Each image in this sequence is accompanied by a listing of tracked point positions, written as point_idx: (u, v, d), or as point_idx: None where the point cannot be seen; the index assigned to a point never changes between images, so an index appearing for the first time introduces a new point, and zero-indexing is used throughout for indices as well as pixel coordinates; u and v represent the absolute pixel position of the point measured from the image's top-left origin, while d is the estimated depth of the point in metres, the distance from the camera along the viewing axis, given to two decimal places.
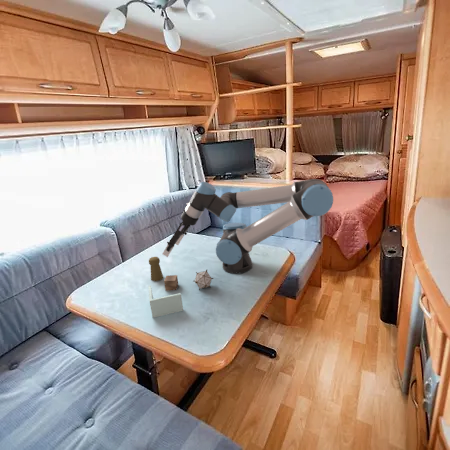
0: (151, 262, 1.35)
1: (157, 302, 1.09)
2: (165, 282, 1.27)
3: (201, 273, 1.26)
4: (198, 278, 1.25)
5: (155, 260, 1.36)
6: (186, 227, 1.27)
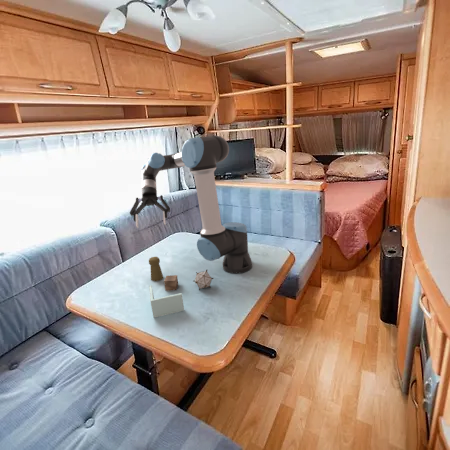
0: (151, 262, 1.35)
1: (158, 302, 1.09)
2: (165, 282, 1.27)
3: (201, 273, 1.26)
4: (198, 278, 1.25)
5: (155, 260, 1.36)
6: None
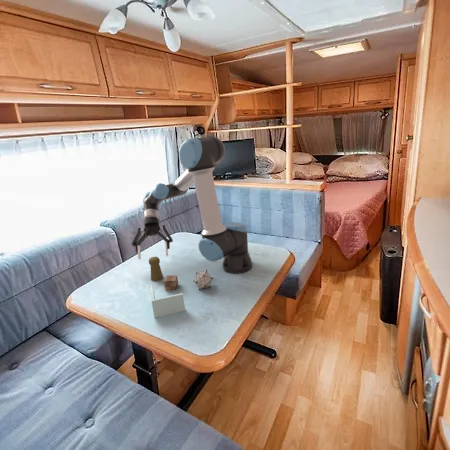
0: (151, 262, 1.35)
1: (159, 302, 1.09)
2: (165, 282, 1.27)
3: (201, 273, 1.26)
4: (198, 278, 1.25)
5: (155, 260, 1.36)
6: (147, 229, 1.48)
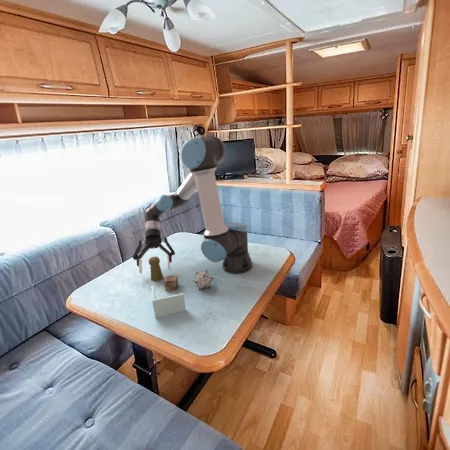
0: (151, 262, 1.35)
1: (160, 302, 1.09)
2: (165, 282, 1.27)
3: (201, 273, 1.26)
4: (198, 278, 1.25)
5: (155, 260, 1.36)
6: (149, 241, 1.43)
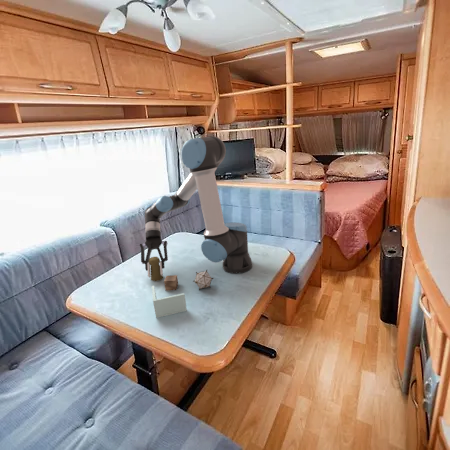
0: (151, 262, 1.35)
1: (161, 302, 1.09)
2: (165, 282, 1.27)
3: (201, 273, 1.26)
4: (198, 278, 1.25)
5: (155, 260, 1.36)
6: None
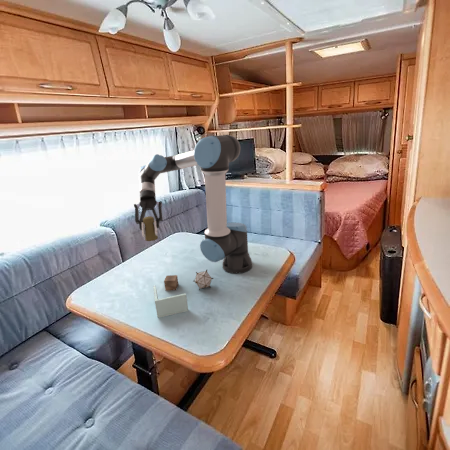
0: (145, 221, 1.32)
1: (162, 302, 1.09)
2: (165, 282, 1.27)
3: (201, 273, 1.26)
4: (198, 278, 1.25)
5: (149, 219, 1.32)
6: None
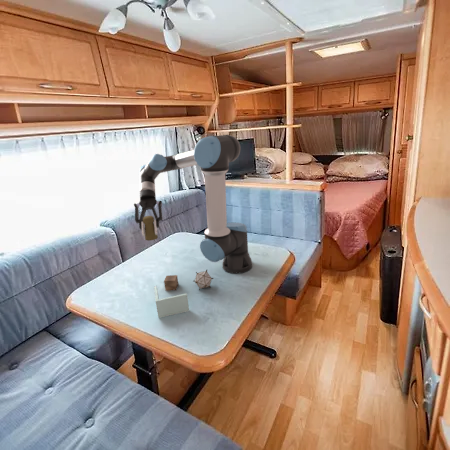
0: (145, 220, 1.32)
1: (163, 302, 1.09)
2: (165, 282, 1.27)
3: (201, 273, 1.26)
4: (198, 278, 1.25)
5: (149, 218, 1.32)
6: None
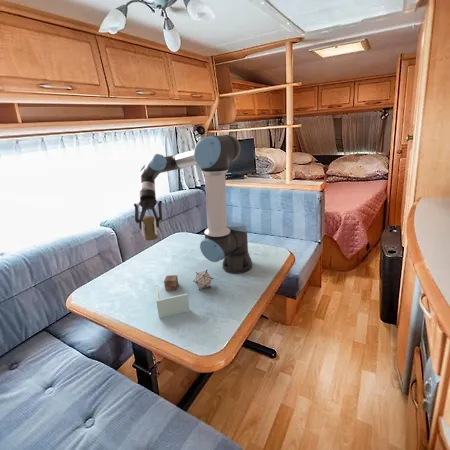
0: (145, 220, 1.32)
1: (164, 303, 1.09)
2: (165, 282, 1.27)
3: (201, 273, 1.26)
4: (198, 278, 1.25)
5: (149, 218, 1.32)
6: None
